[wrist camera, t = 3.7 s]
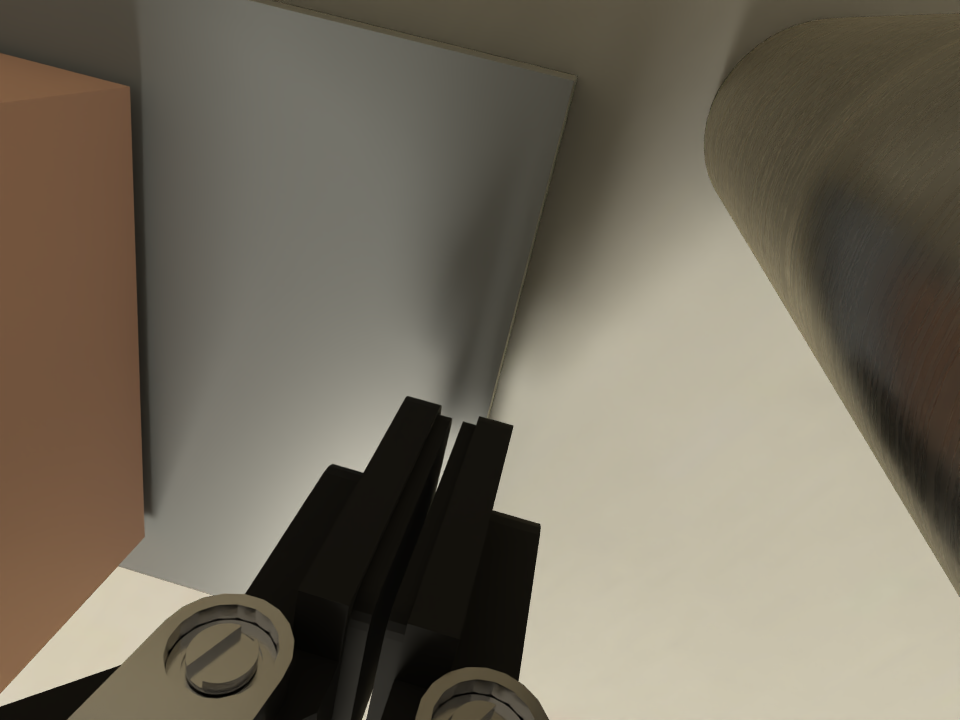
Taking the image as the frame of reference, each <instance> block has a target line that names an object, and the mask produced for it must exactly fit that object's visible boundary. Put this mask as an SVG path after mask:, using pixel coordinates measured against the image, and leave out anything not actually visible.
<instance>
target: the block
mask: <svg viewBox="0 0 960 720" xmlns="http://www.w3.org/2000/svg"><path fill="white" fill-rule="evenodd" d="M144 537H145V528H144V498H143V468H142V437H141V407H140V376H139V346H138V315H137V285H136V254H135V224H134V194H133V163H132V133H131V102H130V87H129V86H126V85H122V84H118V83H114V82H110V81H106V80H102V79H99V78H95V77H91V76H87V75H83V74H79V73H75V72H72V71H68V70H64V69H60V68H56V67H52V66H49V65H45V64H41V63H37V62H33V61H29V60H25V59H22V58H18V57H14V56H10V55H6V54H2V53H0V693H1V692H2V691H3V690H4V689H5V688H6V687H7V686H8V685H9V684H10V683H11V681H12V680H13V679H14V678H15V677H16V676H17V675H18V674H19V673H20V672H21V671H22V670H23V668H24V667H25V666H26V665H27V664H28V663H29V662H30V661H31V660H32V659H33V658H34V657H35V655H36V654H37V653H38V652H39V651H40V650H41V649H42V648H43V647H44V646H45V645H46V644H47V642H48V641H49V640H50V639H51V638H52V637H53V636H54V635H55V634H56V633H57V632H58V631H59V629H60V628H61V627H62V626H63V625H64V624H65V623H66V622H67V621H68V620H69V619H70V618H71V616H72V615H73V614H74V613H75V612H76V611H77V610H78V609H79V608H80V607H81V606H82V605H83V603H84V602H85V601H86V600H87V599H88V598H89V597H90V596H91V595H92V594H93V593H94V591H95V590H96V589H97V588H98V587H99V586H100V585H101V584H102V583H103V582H104V581H105V580H106V578H107V577H108V576H109V575H110V574H111V573H112V572H113V571H114V570H115V569H116V568H117V567H118V565H119V564H120V563H121V562H122V561H123V560H124V559H125V558H126V557H127V556H128V555H129V554H130V552H131V551H132V550H133V549H134V548H135V547H136V546H137V545H138V544H139V543H140V542H141V541H142V539H143V538H144Z"/></svg>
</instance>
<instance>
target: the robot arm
mask: <svg viewBox="0 0 960 720" xmlns="http://www.w3.org/2000/svg"><path fill="white" fill-rule="evenodd" d="M441 409H442V405H439V404H435V403H432V402H428V401H425V400H421V399H417V398H414V397H410V396H406V398H405V399H404V401H403V403H402V404H401V406H400V408H399V410H398V412H397V413H396V415H395V417H394V419H393V421H392V422H391V424H390V426H389V428H388V430H387V431H386V433H385V435H384V437H383V438H382V440H381V442H380V444H379V446H378V447H377V449H376V451H375V453H374V455H373V456H372V458H371V460H370V462H369V464H368V465H367V467H366V469H365V471H364V472H359V471H356V470H352V469H349V468H346V467H342V466H339V465H335V464H331V465H329V466H328V467H327V469H326V470H325V471H324V473H323V474H322V476H321V477H320V479H319V480H318V482H317V483H316V485H315V487H314V488H313V490H312V491H311V493H310V494H309V496H308V497H307V499H306V500H305V502H304V504H303V505H302V507H301V508H300V510H299V511H298V513H297V514H296V516H295V517H294V519H293V520H292V522H291V524H290V525H289V527H288V528H287V530H286V531H285V533H284V534H283V536H282V537H281V539H280V541H279V542H278V544H277V545H276V547H275V548H274V550H273V551H272V553H271V554H270V556H269V558H268V559H267V561H266V562H265V564H264V565H263V567H262V568H261V570H260V571H259V573H258V575H257V576H256V578H255V579H254V581H253V582H252V584H251V585H250V587H249V588H248V590H247V591H246V593H245V594H226V593H224V594H219V595H214V596H209V597H204V598H201V599H199V600H197V601H194V602H192V603H190V604H188V605H186V606H183V607H182V608H181V609H179V610H178V611H177V612H175V613H174V614H173V615H172V616H170V617H169V618H168V619H166V620H165V621H164V622H163V623H162V624H161V625H160V626H159V627H158V628H157V629H156V630H155V631H154V632H153V633H152V634H151V635H150V636H149V637H148V638H147V639H146V640H145V641H144V642H143V643H142V644H141V645H140V646H139V647H138V648H137V649H136V650H135V652H134V653H133V654H132V655H131V656H130V657H129V658H128V659H127V660H126V661H125V662H124V663H123V664H122V665H120V666H117V667H114V668H111V669H108V670H105V671H102V672H100V673H97V674H94V675H91V676H88V677H85V678H82V679H79V680H76V681H73V682H71V683H68V684H65V685H62V686H59V687H56V688H53V689H50V690H47V691H45V692H42V693H39V694H36V695H33V696H30V697H27V698H24V699H21V700H18V701H16V702H13V703H10V704H7V705H4V706H1V707H0V720H362V718H363V715H364V712H365V709H366V707H367V704H368V701H369V698H370V696H371V693H372V696H371V700H370V705H369V710H368V714H367V719H366V720H549V719H548V717H547V715H546V713H545V711H544V710H543V708H542V706H541V704H540V702H539V701H538V699H537V698H536V697H535V696H534V695H533V694H532V693H531V692H530V691H529V690H528V689H527V688H526V687H525V686H524V685H523V684H521V683H520V682H518V681H519V674H520V667H521V661H522V654H523V647H524V640H525V633H526V626H527V620H528V613H529V606H530V599H531V592H532V585H533V579H534V572H535V565H536V558H537V551H538V544H539V538H540V529H541V526H540V524H538V523H535V522H531V521H528V520H524V519H521V518H517V517H514V516H511V515H507V514H504V513H500V512H497V511H493V510H492V509H493V505H494V501H495V497H496V493H497V490H498V486H499V482H500V478H501V474H502V470H503V466H504V462H505V458H506V454H507V450H508V446H509V442H510V438H511V434H512V430H513V425H509V424H506V423H502V422H499V421H495V420H492V419H488V418H485V417H481V416H479V418H478V421H477V424H476V425H475V424H471V423H467V422H464V421H463V423H462V425H461V428H460V430H459V433H458V435H457V438H456V441H455V443H454V446H453V449H452V451H451V454H450V456H449V459H448V462H447V464H446V467H445V470H444V472H443V475H442V477H441V480H440V483H439V485H438V481H439V476H440V472H441V468H442V463H443V459H444V455H445V451H446V446H447V442H448V438H449V433H450V429H451V425H452V418H450V417H446V416H443V415H441ZM437 485H438V488H437ZM436 489H437V491H436ZM372 690H373V691H372Z"/></svg>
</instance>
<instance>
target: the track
mask: <svg viewBox="0 0 960 720" xmlns="http://www.w3.org/2000/svg"><path fill="white" fill-rule="evenodd" d="M0 53H2V54H6V55H10V56H14V57H18V58H22V59H25V60H29V61H33V62H37V63H41V64H45V65H49V66H52V67H56V68H60V69H64V70H68V71H72V72H75V73H79V74H83V75H87V76H91V77H95V78H99V79H102V80H106V81H110V82H114V83H118V84H122V85H126V86H129V87H130V102H131V133H132V163H133V194H134V224H135V254H136V285H137V315H138V346H139V376H140V407H141V437H142V468H143V498H144V528H145V537H144V538H143V539H142V541H141V542H140V543H139V544H138V545H137V546H136V547H135V548H134V549H133V550H132V551H131V552H130V554H129V555H128V556H127V557H126V558H125V559H124V560H123V561H122V562H121V563H120V564H119V565H118V566H119V567H122V568H126V569H129V570H132V571H135V572H139V573H142V574H145V575H148V576H152V577H155V578H158V579H161V580H165V581H168V582H171V583H174V584H178V585H181V586H184V587H187V588H191V589H194V590H197V591H200V592H204V593H207V594H210V595H213V596H214V595H219V594H224V593H226V594H245V593H246V591H247V590H248V588H249V587H250V585H251V584H252V582H253V581H254V579H255V578H256V576H257V575H258V573H259V571H260V570H261V568H262V567H263V565H264V564H265V562H266V561H267V559H268V558H269V556H270V554H271V553H272V551H273V550H274V548H275V547H276V545H277V544H278V542H279V541H280V539H281V537H282V536H283V534H284V533H285V531H286V530H287V528H288V527H289V525H290V524H291V522H292V520H293V519H294V517H295V516H296V514H297V513H298V511H299V510H300V508H301V507H302V505H303V504H304V502H305V500H306V499H307V497H308V496H309V494H310V493H311V491H312V490H313V488H314V487H315V485H316V483H317V482H318V480H319V479H320V477H321V476H322V474H323V473H324V471H325V470H326V469H327V467H328V466H329V465H331V464H335V465H339V466H342V467H346V468H349V469H352V470H356V471H359V472H364V471H365V469H366V467H367V465H368V464H369V462H370V460H371V458H372V456H373V455H374V453H375V451H376V449H377V447H378V446H379V444H380V442H381V440H382V438H383V437H384V435H385V433H386V431H387V430H388V428H389V426H390V424H391V422H392V421H393V419H394V417H395V415H396V413H397V412H398V410H399V408H400V406H401V404H402V403H403V401H404V399H405V398H406V396H410V397H414V398H417V399H421V400H425V401H428V402H432V403H435V404H439V405H442V409H441V415H443V416H446V417H450V418H452V425H451V429H450V433H449V438H448V442H447V446H446V451H445V455H444V459H443V463H442V468H441V472H440V476H439V481H438V485H439V483H440V480H441V477H442V475H443V472H444V470H445V467H446V464H447V462H448V459H449V456H450V454H451V451H452V449H453V446H454V443H455V441H456V438H457V435H458V433H459V430H460V428H461V425H462V423H463V421H464V422H467V423H471V424H475V425H476V424H477V421H478V418H479V416H481V417H485V418H488V419H489V415H490V411H491V407H492V403H493V400H494V396H495V392H496V388H497V384H498V380H499V377H500V373H501V369H502V365H503V361H504V357H505V354H506V350H507V346H508V342H509V338H510V334H511V331H512V327H513V323H514V319H515V315H516V311H517V308H518V304H519V300H520V296H521V292H522V288H523V284H524V281H525V277H526V273H527V269H528V265H529V261H530V258H531V254H532V250H533V246H534V242H535V238H536V235H537V231H538V227H539V223H540V219H541V215H542V212H543V208H544V204H545V200H546V196H547V192H548V189H549V185H550V181H551V177H552V173H553V169H554V166H555V162H556V158H557V154H558V150H559V146H560V143H561V139H562V135H563V131H564V127H565V123H566V120H567V116H568V112H569V108H570V104H571V100H572V97H573V93H574V89H575V85H576V81H577V77H578V76H576V75H572V74H568V73H564V72H560V71H556V70H551V69H547V68H543V67H539V66H535V65H531V64H527V63H523V62H519V61H515V60H511V59H507V58H503V57H499V56H495V55H491V54H487V53H483V52H479V51H475V50H471V49H467V48H463V47H458V46H454V45H450V44H446V43H442V42H438V41H434V40H430V39H426V38H422V37H418V36H414V35H410V34H406V33H402V32H398V31H394V30H390V29H386V28H382V27H378V26H374V25H370V24H365V23H361V22H357V21H353V20H349V19H345V18H341V17H337V16H333V15H329V14H325V13H321V12H317V11H313V10H309V9H305V8H301V7H297V6H293V5H289V4H285V3H281V2H277V1H272V0H0ZM438 485H437V488H438ZM436 491H437V489H436Z"/></svg>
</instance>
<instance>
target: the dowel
mask: <svg viewBox="0 0 960 720" xmlns="http://www.w3.org/2000/svg"><path fill="white" fill-rule="evenodd" d="M704 154H705V163H706V167H707V171H708V175H709V178H710V180H711V183H712V185H713V187H714V189H715V191H716V192H717V194H718V196H719V198H720V199H721V201H722V203H723V204H724V206H725V208H726V209H727V211H728V213H729V214H730V216H731V217H732V219H733V221H734V222H735V224H736V226H737V227H738V229H739V231H740V232H741V234H742V236H743V237H744V239H745V241H746V242H747V244H748V246H749V247H750V249H751V251H752V252H753V254H754V256H755V257H756V259H757V261H758V262H759V264H760V266H761V267H762V269H763V271H764V272H765V274H766V276H767V277H768V279H769V281H770V282H771V284H772V286H773V287H774V289H775V291H776V292H777V294H778V296H779V297H780V299H781V301H782V302H783V304H784V306H785V307H786V309H787V311H788V312H789V314H790V316H791V317H792V319H793V321H794V322H795V324H796V326H797V327H798V329H799V331H800V332H801V334H802V336H803V337H804V339H805V341H806V342H807V344H808V346H809V347H810V349H811V351H812V352H813V354H814V356H815V357H816V359H817V361H818V362H819V364H820V366H821V367H822V369H823V371H824V372H825V374H826V376H827V377H828V379H829V380H830V382H831V384H832V385H833V387H834V389H835V390H836V392H837V394H838V395H839V397H840V399H841V400H842V402H843V404H844V405H845V407H846V409H847V410H848V412H849V414H850V415H851V417H852V419H853V420H854V422H855V424H856V425H857V427H858V429H859V430H860V432H861V434H862V435H863V437H864V439H865V440H866V442H867V444H868V445H869V447H870V449H871V450H872V452H873V454H874V455H875V457H876V459H877V460H878V462H879V464H880V465H881V467H882V469H883V470H884V472H885V474H886V475H887V477H888V479H889V480H890V482H891V484H892V485H893V487H894V489H895V490H896V492H897V494H898V495H899V497H900V499H901V500H902V502H903V504H904V505H905V507H906V509H907V510H908V512H909V514H910V515H911V517H912V519H913V520H914V522H915V524H916V525H917V527H918V529H919V530H920V532H921V534H922V535H923V537H924V539H925V540H926V542H927V543H928V545H929V547H930V548H931V550H932V552H933V553H934V555H935V557H936V558H937V560H938V562H939V563H940V565H941V567H942V568H943V570H944V572H945V573H946V575H947V577H948V578H949V580H950V582H951V583H952V585H953V587H954V588H955V590H956V592H957V593H958V595H959V597H960V13H953V14H927V15H900V16H874V17H847V18H828V19H819V20H813V21H809V22H805V23H801V24H798V25H795V26H793V27H790V28H788V29H785V30H783V31H781V32H779V33H777V34H775V35H774V36H772V37H770V38H768V39H767V40H765V41H764V42H762V43H761V44H760V45H758V46H757V47H755V48H754V49H753V50H752V51H751V52H750V53H749V54H747V55H746V56H745V57H744V58H743V59H742V60H741V61H740V62H739V63H738V65H737V66H736V67H735V68H734V69H733V70H732V72H731V73H730V74H729V76H728V77H727V78H726V80H725V81H724V83H723V84H722V86H721V88H720V90H719V91H718V93H717V95H716V97H715V100H714V102H713V104H712V107H711V109H710V113H709V116H708V120H707V123H706V130H705V136H704Z"/></svg>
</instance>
